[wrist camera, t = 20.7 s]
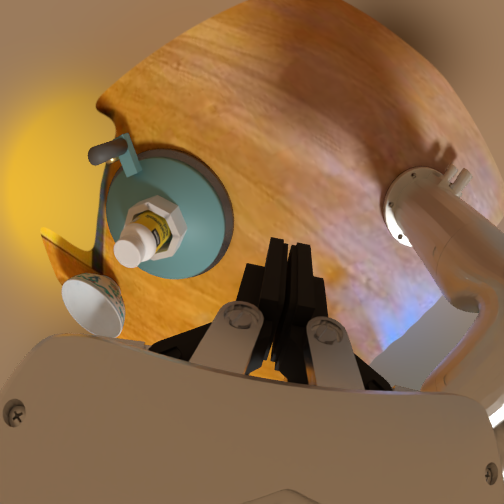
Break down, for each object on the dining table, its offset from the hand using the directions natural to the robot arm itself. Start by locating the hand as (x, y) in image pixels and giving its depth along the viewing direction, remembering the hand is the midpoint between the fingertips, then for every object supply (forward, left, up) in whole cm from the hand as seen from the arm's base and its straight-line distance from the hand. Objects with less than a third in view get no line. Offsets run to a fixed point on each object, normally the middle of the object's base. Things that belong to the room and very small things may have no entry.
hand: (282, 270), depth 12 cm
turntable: (+17, -13, -26) cm, 33 cm away
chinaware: (+41, -17, -27) cm, 52 cm away
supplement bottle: (+18, -11, -25) cm, 32 cm away
